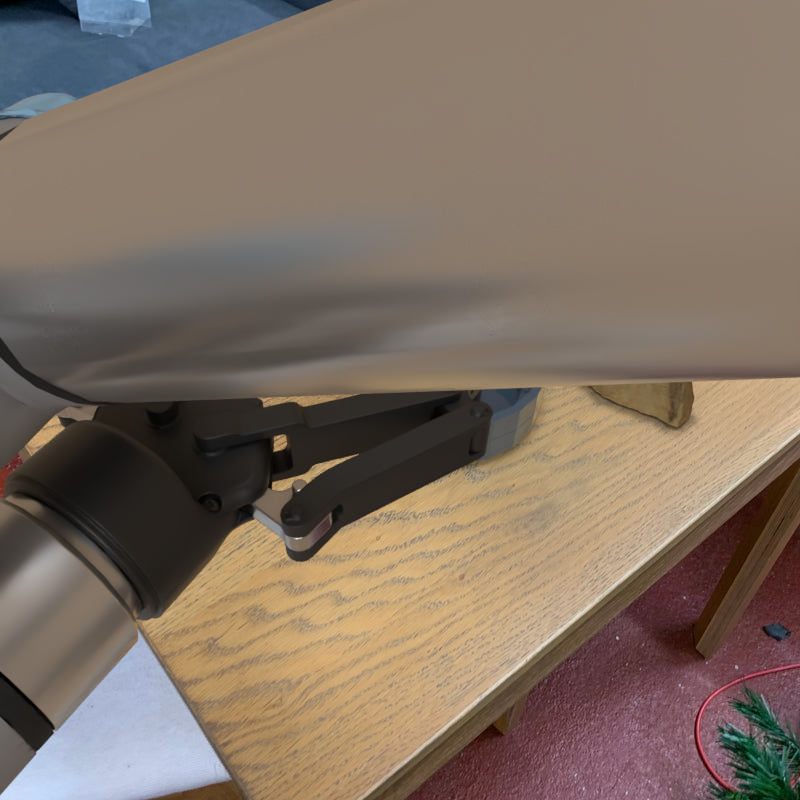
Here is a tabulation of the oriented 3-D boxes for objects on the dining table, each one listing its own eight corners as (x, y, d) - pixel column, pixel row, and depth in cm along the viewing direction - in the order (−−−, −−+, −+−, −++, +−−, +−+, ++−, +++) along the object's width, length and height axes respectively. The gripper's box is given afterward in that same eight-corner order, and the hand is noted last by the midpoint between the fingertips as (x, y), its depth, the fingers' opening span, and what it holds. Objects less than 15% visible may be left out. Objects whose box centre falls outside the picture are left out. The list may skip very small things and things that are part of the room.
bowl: (571, 427, 72) (584, 383, 68) (419, 494, 67) (422, 451, 62) (477, 322, 82) (483, 278, 77) (337, 373, 76) (334, 329, 72)
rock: (730, 404, 71) (677, 325, 77) (711, 372, 65) (655, 287, 70) (626, 461, 75) (583, 382, 80) (598, 436, 68) (553, 351, 73)
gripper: (-99, 475, 35) (212, 241, 47) (360, 788, 26) (591, 402, 39) (-189, 356, 29) (190, 127, 42) (355, 705, 21) (627, 286, 33)
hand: (384, 259), depth 40 cm, fingers open, 13 cm apart
